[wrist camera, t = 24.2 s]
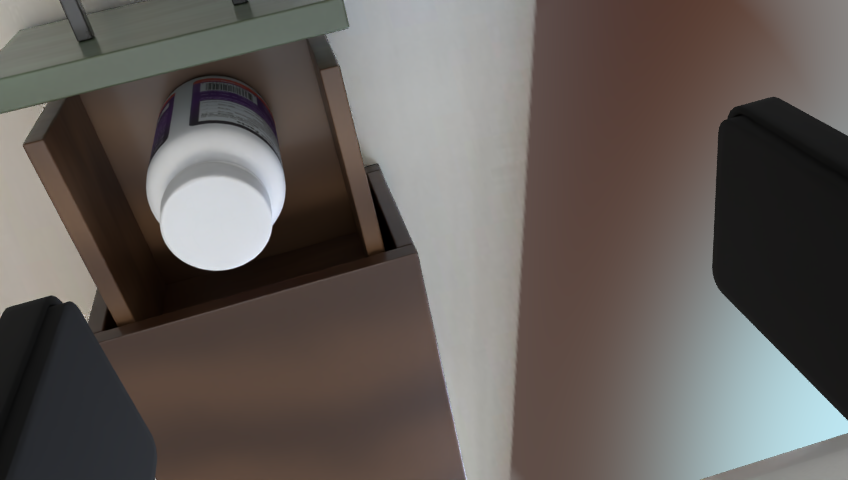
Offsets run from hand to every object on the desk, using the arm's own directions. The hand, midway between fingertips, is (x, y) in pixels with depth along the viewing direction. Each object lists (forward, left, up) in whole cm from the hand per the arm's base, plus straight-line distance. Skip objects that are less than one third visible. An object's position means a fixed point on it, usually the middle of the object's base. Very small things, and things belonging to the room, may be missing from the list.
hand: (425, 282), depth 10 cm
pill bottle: (+5, +6, -26) cm, 27 cm away
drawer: (+5, +5, -26) cm, 27 cm away
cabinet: (+5, +19, -27) cm, 34 cm away
